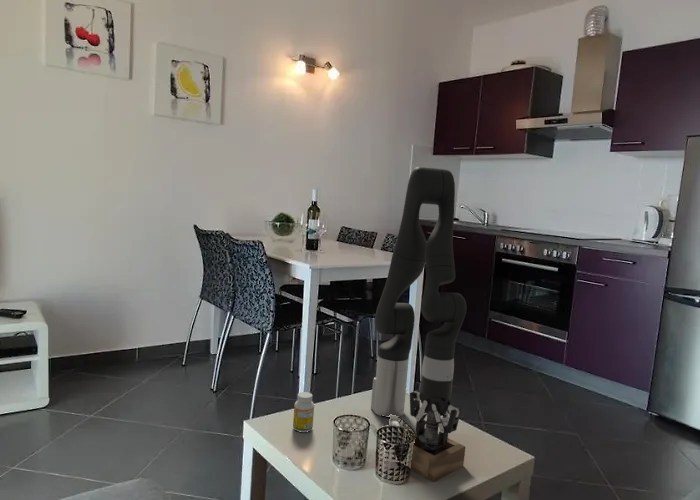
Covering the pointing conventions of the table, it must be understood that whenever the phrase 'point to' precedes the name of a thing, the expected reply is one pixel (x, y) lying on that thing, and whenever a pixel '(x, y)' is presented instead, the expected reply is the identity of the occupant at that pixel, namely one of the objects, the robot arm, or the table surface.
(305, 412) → the supplement bottle
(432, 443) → the dark grey chess piece
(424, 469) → the walnut holder
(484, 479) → the table surface
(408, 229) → the robot arm
